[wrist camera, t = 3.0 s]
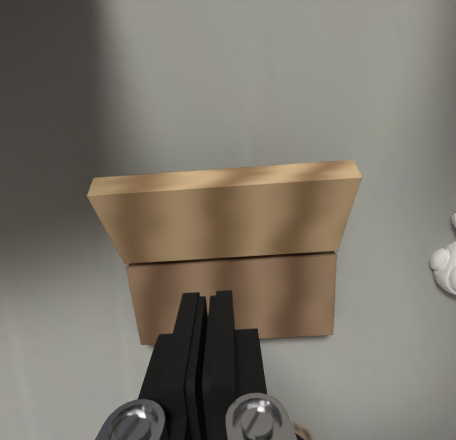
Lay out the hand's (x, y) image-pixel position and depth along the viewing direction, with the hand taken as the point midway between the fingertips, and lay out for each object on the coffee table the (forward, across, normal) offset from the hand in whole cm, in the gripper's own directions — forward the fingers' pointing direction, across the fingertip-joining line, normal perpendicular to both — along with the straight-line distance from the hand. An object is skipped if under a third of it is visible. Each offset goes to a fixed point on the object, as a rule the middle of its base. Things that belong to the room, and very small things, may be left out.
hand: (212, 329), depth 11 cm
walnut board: (+20, 0, +11) cm, 23 cm away
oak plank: (+18, 0, +1) cm, 18 cm away
